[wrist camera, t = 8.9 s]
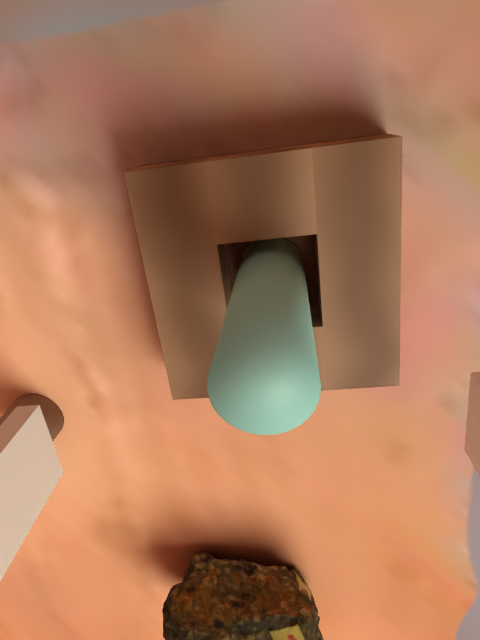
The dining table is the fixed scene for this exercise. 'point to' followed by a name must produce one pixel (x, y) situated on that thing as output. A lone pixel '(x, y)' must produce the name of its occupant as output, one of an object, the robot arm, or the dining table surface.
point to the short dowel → (48, 409)
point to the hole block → (269, 223)
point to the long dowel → (266, 344)
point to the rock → (239, 603)
